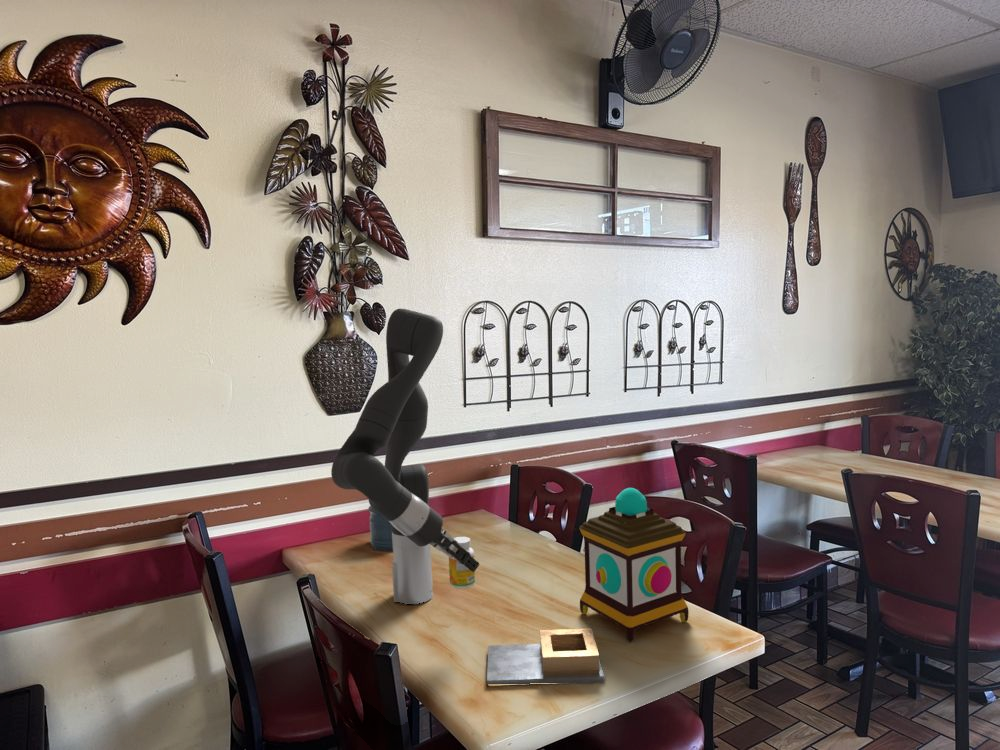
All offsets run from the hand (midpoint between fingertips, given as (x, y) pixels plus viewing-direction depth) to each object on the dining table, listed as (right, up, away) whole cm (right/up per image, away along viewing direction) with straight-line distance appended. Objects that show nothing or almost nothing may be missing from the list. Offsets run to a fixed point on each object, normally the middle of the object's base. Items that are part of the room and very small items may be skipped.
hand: (469, 563), depth 141 cm
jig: (+15, -17, -10) cm, 25 cm away
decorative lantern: (+37, -15, +9) cm, 40 cm away
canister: (-27, -12, +63) cm, 69 cm away
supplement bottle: (-1, -5, 0) cm, 5 cm away
